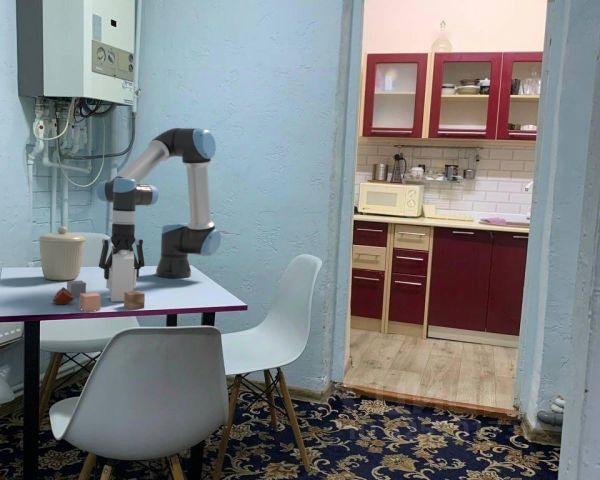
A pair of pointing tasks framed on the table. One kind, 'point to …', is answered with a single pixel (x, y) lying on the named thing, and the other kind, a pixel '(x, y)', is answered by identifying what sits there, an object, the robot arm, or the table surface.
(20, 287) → the table surface
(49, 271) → the canister
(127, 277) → the milk carton
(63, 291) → the fruit slice
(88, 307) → the terracotta block
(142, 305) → the walnut block
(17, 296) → the table surface
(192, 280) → the table surface
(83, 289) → the slate grey block
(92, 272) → the table surface
